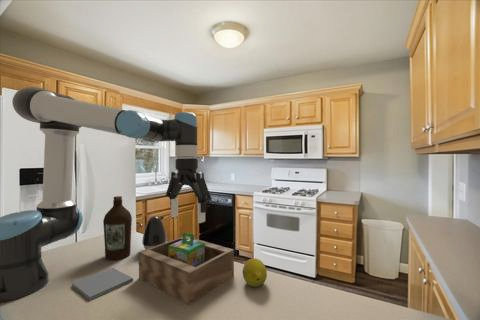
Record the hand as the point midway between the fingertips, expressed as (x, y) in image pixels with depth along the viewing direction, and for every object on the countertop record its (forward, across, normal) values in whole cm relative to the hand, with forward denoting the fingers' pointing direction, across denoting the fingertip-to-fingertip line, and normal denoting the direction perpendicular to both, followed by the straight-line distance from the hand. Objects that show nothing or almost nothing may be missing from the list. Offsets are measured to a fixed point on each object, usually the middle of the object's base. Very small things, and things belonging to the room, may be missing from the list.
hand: (187, 219), depth 81 cm
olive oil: (+20, +37, +5) cm, 43 cm away
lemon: (+20, -22, -9) cm, 31 cm away
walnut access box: (+20, 0, 0) cm, 20 cm away
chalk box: (+20, 0, 0) cm, 20 cm away
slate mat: (+20, +19, +19) cm, 34 cm away
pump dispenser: (+20, +30, -8) cm, 37 cm away
